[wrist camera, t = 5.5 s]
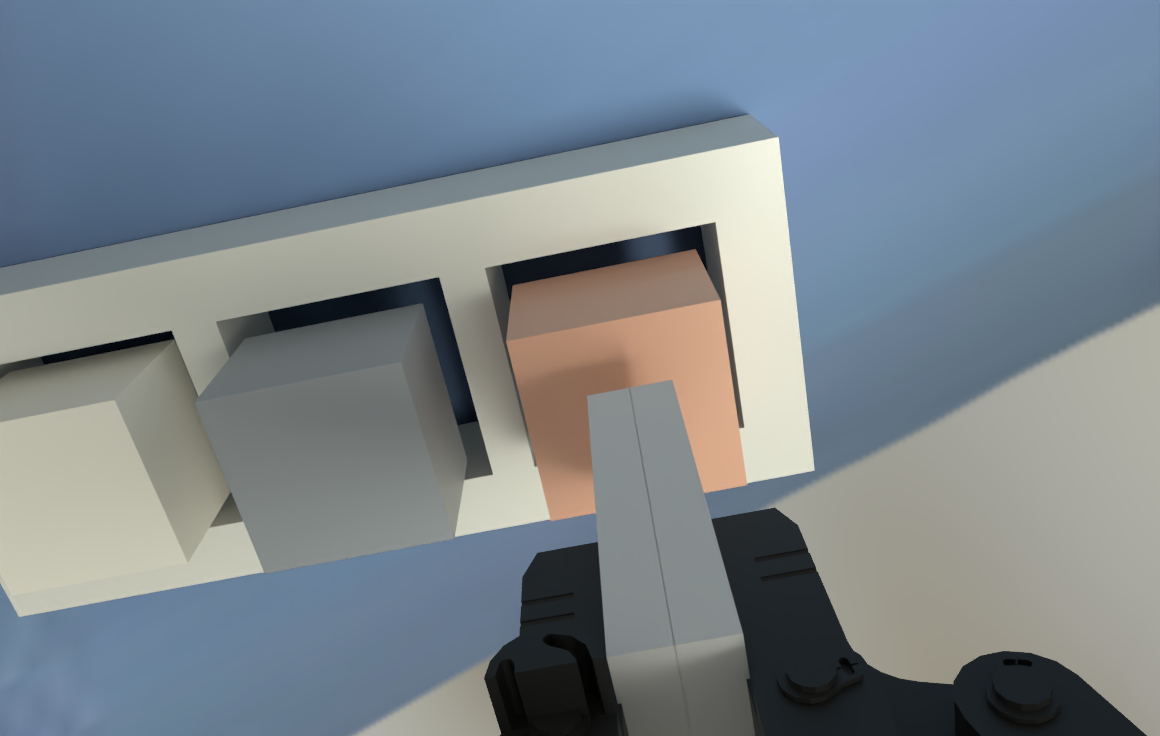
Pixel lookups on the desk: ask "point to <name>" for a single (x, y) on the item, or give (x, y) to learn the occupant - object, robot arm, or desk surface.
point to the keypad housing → (472, 292)
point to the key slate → (338, 439)
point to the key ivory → (103, 468)
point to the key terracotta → (622, 366)
